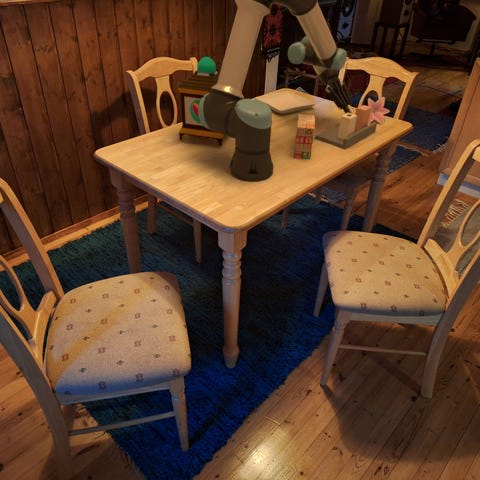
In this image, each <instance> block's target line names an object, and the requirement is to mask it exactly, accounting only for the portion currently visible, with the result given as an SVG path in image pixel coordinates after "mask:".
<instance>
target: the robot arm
mask: <svg viewBox="0 0 480 480" xmlns="http://www.w3.org/2000/svg"><path fill="white" fill-rule="evenodd" d="M318 1H319V0H234V2H235V4H236V6H237V10H236V13H235V17H234V21H233V24H232V27H231V31H230V35H229V39H228V42H227V46H226V49H225V53H224V57H223V59H222V60H223V61H222V64H221V67H220V68H221V69H220V71H219V72H220V75H219V78H218V82H217V84H216V85H214V86H213V87H211V90H210V93H208V94H206V95H204V96H203V98H202V99H201V100H200V103H199V106H198V116H199V119H200V122H201V124H202V125H203V126H204V127H205V128H207V129H210V130H211V131H213V132H218V133H220V134H223V135H226V136H227V137H229V138H232V139H234V140H235V142H234V143H235V146H234V148H235V149H234V152H233V155H232V158H231V160H230V163H229V172H230V175H232V176H233V177H235V178H236V179H239V180H241V181H244V182H245V181H247V182H259V181H265V180H266V179H269V178H271V176H272V175H273V174H274V167H275V166H274V162H273V161H272V160H273V159H272V156H271V151H270V150H271V149H270V148H271V136H272V126H273V110H272V109H271V108H270V107H269V106H268V105H267V104H266V103H264V102H262V101H259V100H255V98H254V99H251V98H245V97H244V95H243V92H242V91H243V88H244V84H245V80H246V78H247V74H248V70H249V67H250V63H251V60H252V57H253V53H254V50H255V46H256V43H257V41H258V40H257V39H258V37H259V34H260V33H259V32H260V29H261V27H262V23H263V19H264V17H265V16H267V15H269V14H270V12H271V9H272V5H279V6H283V7H285V8H287V9H288V11H289V12H290V14H291V15H292V16H295V17H296V18H297V20H298V22H299V24H300V26H301V28H302V30H303V32H304V34H305V36H304V37H303V38H302V39H301V41H296V42H294V43H292V44H291V45H290V46H289V47H288V49H287V58H288V60H289V62H290V63H292V64H294V65H300V64H304V65H309V66H312V67H313V69H314V71H315V73H316V75H318V79H320V80H319V81H320V82H321V84H325V86H326V88H325V89H324V90H323V91H324V93H325V94H326V95H328V96H329V98H330V99H331V101H332V102H333V103H334V105H335V106H336V107H337V108H338V109H339V110H340V111H342V110H343V112H344V114H346V113H351V114H354V115H355V113H356V112H354V110H353V108H352V106H351V104H352V103H353V102H352V101H353V100H352V99H351V98H352V97H351V96H350V93H349V91H348V88H347V85H346V81H345V80H342V81H341V79H340V78H339V77H338V75H339V71H341V70H342V69H343V68H344V67H345V65H346V62H347V60H348V59H347V58H348V53H347V50H345V49H343V48H341V47H340V48H338V47H337V44H336V42H335V40H334V38H333V35H332V33H331V31H330V29H329V28H330V27H329V26H328V24H327V23H328V22H327V21H326V18H325V17H324V15H323V12H322V10H321V7H320V6H319V5H320V4H319V2H318Z"/></svg>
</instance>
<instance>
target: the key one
mask: <svg viewBox="0 0 480 480" xmlns="http://www.w3.org/2000/svg"><path fill="white" fill-rule="evenodd" d="M356 119H357V115H354V114H351V113H346V114H345V113H344V114H343V115H341V116H340V121H339V123H340V126H339V132H338V138H339V139H342V140H344V138H346V137H348V136H349V135H351V134H353V133H354V129H355V124H356Z"/></svg>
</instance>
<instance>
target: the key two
mask: <svg viewBox="0 0 480 480" xmlns="http://www.w3.org/2000/svg"><path fill="white" fill-rule="evenodd" d="M368 106H369V105H364V104H362V105H360V106H358V107H356V109H355V112H354V113H355V115H357V119H356V124H355V129H354V130H355V131H359V130H360V129H362V128H364V127H366V126H368V125H369V123H368V121H369V117H370V112H371V107H368Z"/></svg>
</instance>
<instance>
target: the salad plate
mask: <svg viewBox="0 0 480 480" xmlns="http://www.w3.org/2000/svg"><path fill="white" fill-rule="evenodd" d="M254 99H255V100H259V101H262V102H264V103H266V104H267V105H268V106H269V107H270V108H271V111H274V112H275V113H278V114H281V115H284V114H289V113H294V112H299V111H303V110H307V109H310V108H313V107H314V106H315V105H316V103H315V102H313V101H312V100H310V99H307V98H305V97H303V96H301V95H298V94H296V93H293V92H292V91H283V92H276V93H275V92H274V93H272V94H265V95H261V96H256V97H254Z"/></svg>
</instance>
